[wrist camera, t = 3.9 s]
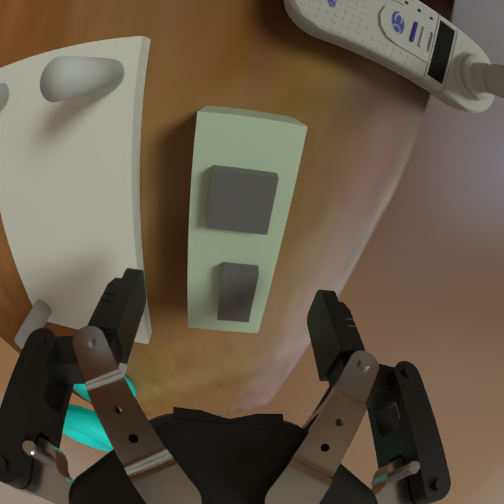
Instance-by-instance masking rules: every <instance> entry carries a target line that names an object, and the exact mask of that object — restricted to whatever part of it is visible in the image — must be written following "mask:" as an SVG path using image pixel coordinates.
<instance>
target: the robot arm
mask: <svg viewBox="0 0 504 504" xmlns="http://www.w3.org/2000/svg"><path fill="white" fill-rule="evenodd" d="M145 305H146V289H145V279H144V271H143V270H139V269H132V268H127V269H126V270H125V272H124V274H123V276H122V278H116V277H115V278H114V279H113V280H112V281H111V282H109V283H108V284H107V286H106V288H105V290H104V292H103V294H102V296H101V298H100V301H99V302H98V304H97V306H96V308H95V310H94V312H93V314H92V316H91V318H90V321H89V323H88V325H87V326H85V327H82V328H80V329H79V330H77V331H76V332H75V334H74V335H73V336H63V337H55V336H54V334H53V332H52V331H51V330H49V329H47V328H39V329H36V330H34V331H33V332H32V333H31V334H30V335H29V336H28V338H27V340H26V343H25V345H24V347H23V349H22V351H21V354H20V356H19V358H18V361H17V363H16V366H15V368H14V371H13V373H12V376H11V378H10V381H9V384H8V387H7V389H6V392H5V395H4V398H3V401H2V404H1V408H0V481H1V482H3V483H5V484H8V485H10V486H12V487H13V488H15V489H18V490H21V491H23V492H26V493H29V494H33V495H37V496H39V497H42V498H44V499H46V500H48V501H51V502H53V503H56V504H430V503H433V502H436V501H439V500H441V499H442V498H444V497H445V496H446V495H447V494H448V492H449V490H450V485H451V481H450V475H449V471H448V467H447V462H446V458H445V454H444V450H443V446H442V442H441V439H440V435H439V431H438V428H437V424H436V421H435V418H434V415H433V411H432V408H431V405H430V402H429V399H428V396H427V393H426V391H425V388H424V385H423V382H422V379H421V377H420V374H419V371H418V370H417V368H416V367H415V366H414V365H413V364H411V363H410V362H406V361H401V362H399V363H398V364H397V365H396V366H395V367H389V366H386V365H382V364H379V363H378V361H377V359H376V358H375V357H374V356H373V355H372V354H371V353H369V352H366V351H365V349H364V346H363V343H362V340H361V338H360V335H359V333H358V330H357V327H355V326H356V325H355V322H354V321H353V317H352V315H351V312H350V310H349V309H348V308H347V306H346V305H345V304H344V303H343V302H339V301H338V298H337V296H336V293H335V292H334V291H328V290H318V291H317V293H316V295H315V298H314V300H313V303H312V305H311V307H310V310H309V312H308V316H307V325H308V330H309V334H310V338H311V343H312V347H313V351H314V356H315V360H316V365H317V369H318V374H319V379H320V381H329V385H330V386H329V387H328V388H327V390H326V392H325V393H324V395H323V397H322V398H321V400H320V401H319V403H318V405H317V406H316V408H315V410H314V411H313V413H312V414H311V416H310V417H309V419H308V420H307V421H306V423H305V424H304V425H303V427H302V428H301V427H299V426H298V425H295V424H293V423H290V422H287V421H284V420H283V414H254V415H249V416H244V417H238V418H232V419H227V418H224V417H220V416H217V415H214V414H211V413H207V412H204V411H201V410H193V409H185V408H177V407H174V410H173V413H172V414H165V415H161V416H158V417H155V418H153V419H151V420H149V421H148V419H147V418H146V416H145V414H144V412H143V411H142V409H141V407H140V405H139V404H138V402H137V400H136V398H135V397H134V395H133V393H132V391H131V389H130V387H129V385H128V383H127V381H126V379H125V377H124V376H123V374H122V372H121V371H120V369H119V364H120V363H123V364H128V360H129V357H130V353H131V350H132V346H133V343H134V340H135V337H136V333H137V330H138V327H139V324H140V321H141V318H142V315H143V312H144V309H145ZM74 384H86V385H85V386H86V390H87V393H88V395H89V398H90V400H91V402H92V405H93V407H94V409H95V412H96V414H97V416H98V418H99V421H100V423H101V425H102V427H103V429H104V431H105V433H106V435H107V437H108V439H109V441H110V443H111V445H112V447H113V450H111V451H110V452H109V453H108V454H106V455H105V456H104V457H103V458H101V459H100V460H99V461H98V462H96V463H95V464H94V465H92V466H91V467H90V468H88V469H87V470H86V471H84V472H83V473H82V474H80V475H79V476H78V477H77V478H76V479H75V480H74V481H73V480H72V479H71V477H70V475H69V472H68V462H67V459H66V457H65V455H64V453H63V452H62V451H61V450H59V447H60V442H61V437H62V432H63V427H64V422H65V418H66V413H67V409H68V405H69V401H70V397H71V393H72V390H73V386H74ZM396 404H397V407H396ZM397 408H398V410H397ZM366 410H368V414H369V419H370V423H371V429H372V434H373V439H374V445H375V450H376V456H377V462H378V468H379V469H378V470H377V471H376V472H375V474H374V477H373V481H372V483H371V485H372V489H370V488H368V487H367V486H366V485H365V484H364V483H363V482H361V481H360V480H359V479H358V478H357V477H355V476H354V475H353V474H352V473H351V472H350V471H349V470H347V469H346V468H345V467H344V466H343V465H342V464H341V461H342V459H343V458H344V456H345V454H346V452H347V450H348V448H349V446H350V444H351V442H352V440H353V438H354V436H355V434H356V432H357V430H358V428H359V425H360V424H361V421H362V419H363V417H364V415H365V413H366ZM398 411H399V414H398ZM399 416H400V418H399Z"/></svg>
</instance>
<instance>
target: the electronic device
mask: <svg viewBox="0 0 504 504" xmlns="http://www.w3.org/2000/svg"><path fill="white" fill-rule="evenodd" d="M284 5H285V9H286V12H287V14H288V16H289V17H290V19H291V20H292V21H293V22H294V23H295V24H296V25H297V27H299V28H300V29H301V30H303V31H304V32H306V33H307V34H309V35H311V36H312V37H315V38H318V39H321V40H324V41H326V42H329V43H332V44H334V45H337V46H339V47H342V48H344V49H347V50H349V51H352V52H354V53H356V54H359V55H361V56H363V57H365V58H367V59H370V60H372V61H374V62H376V63H378V64H380V65H382V66H384V67H386V68H388V69H390V70H392V71H394V72H395V73H397V74H399V75H401V76H403V77H404V78H406V79H408V80H410V81H411V82H413V83H415V84H416V85H418V86H420V87H421V88H423V89H425V90H426V91H428V92H429V93H431V94H432V95H434V96H435V97H437V98H438V99H440V100H442V101H443V102H444V103H446V104H447V105H449V106H452V107H454V108H456V109H459V110H463V111H466V112H469V113H481V112H483V111H485V110H486V109H488V108H489V106H490V105H491V103H492V102H493V99H494V95H497V96H499V97H503V98H504V65H498V64H491V63H490V61H489V59H488V57H487V56H486V54H485V53H484V52H483V51H482V50H481V49H480V47H479V46H478V45H477V44H475V43H474V42H473V41H472V40H471V39H470V38H468V36H466V35H465V34H464V33H463V32H462V31H460V30H459V29H458V28H456V27H455V26H454V25H453V24H451V23H450V22H449V21H447V20H446V19H445V18H443V17H442V16H441V15H439V14H438V13H436V12H435V11H434V10H432V9H431V8H429V7H428V6H426V5H425V4H423V3H422V2H420V1H418V0H284Z"/></svg>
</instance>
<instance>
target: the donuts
mask: <svg viewBox="0 0 504 504" xmlns="http://www.w3.org/2000/svg"><path fill="white" fill-rule="evenodd" d="M124 377H125V379H126V381H127V383H128V385H129V387H130V389H131V391H132V393H133V395H134V397H136V390H135V387H134V385H133V384H132V382H131V381H130V380H129V379H128V378H127V377H126V376H124ZM85 385H86V384H74V386H73V389H74V390H75V391H76V392H77V393H78V394H79V395H81V396H82V397H83V398H85V399H87V400H88V401H90V402H91V400H90V398H89V395H88V393H87V390H86V386H85ZM62 433H64V434H66V435H67V436H69V437H70V438H72V439H74V440H76V441H78V442H81V443H83V444H85V445H88V446H91V447H93V448H97V449H100V450H105V451H111V450H113V447H112V445H111V443H110V441H109V439H108V437H107V435H106V433H105V431H104V429H103V427H102V425H101V423H100V421H99V418H98V416H97V414H96V412H94V411H92V410H89V409H87V408H84V407H81V406H76V405H71V404H69V405H68V409H67V413H66V418H65V422H64V427H63V432H62Z"/></svg>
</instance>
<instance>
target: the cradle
mask: <svg viewBox="0 0 504 504" xmlns="http://www.w3.org/2000/svg"><path fill="white" fill-rule="evenodd" d="M150 41H151V39H148V38H146V37H144V36H135V37H125V38H116V39H108V40H101V41H95V42H89V43H84V44H79V45H74V46H69V47H65V48H61V49H57V50H53V51H49V52H46V53H42V54H39V55H36V56H32V57H29V58H26V59H23V60H20V61H18V62H15V63H12V64H9V65H7V66H4V67H2V68H0V213H1V217H2V221H3V225H4V229H5V232H6V236H7V239H8V242H9V246H10V249H11V252H12V255H13V258H14V261H15V264H16V266H17V269H18V272H19V275H20V277H21V280H22V282H23V285H24V287H25V290H26V292H27V294H28V297H29V299H30V301H31V304H32V306H33V307H32V309H31V310H30V312H29V314H28V315H27V317H26V319H25V320H24V322H23V324H22V326H21V327H20V329H19V331H18V333H17V335H16V336H15V338H14V341H15V343H16V344H17V345H18V346H19V347H20V348H21V349H23V347H24V345H25V343H26V340H27V338H28V336H29V335H30V334H31V333H32V332H33V331H34V330H36V329H39V328H44V326H45V324H46V322H51V323H54V324H58V325H62V326H66V327H69V328H73V329H77V330H79V329H80V328H82V327H85V326H87V325H88V323H89V321H90V318H91V316H92V314H93V312H94V310H95V308H96V306H97V304H98V302H99V301H100V298H101V296H102V294H103V292H104V290H105V288H106V286H107V284H108V283H109V282H111V281H112V280H113V279H114V278H115V277H116V278H122V276H123V274H124V272H125V270H126V269H127V268H132V269H139V270H143V271H144V264H143V251H142V237H141V217H140V139H141V120H142V106H143V95H144V85H145V76H146V68H147V61H148V54H149V47H150ZM144 279H145V274H144ZM145 289H146V284H145ZM151 334H152V329H151V322H150V316H149V308H148V301H147V293H146V305H145V309H144V312H143V315H142V318H141V321H140V324H139V327H138V330H137V333H136V337H135V340H134V342H140V343H146V344H149V341H150V337H151ZM133 344H134V343H133ZM132 347H133V346H132ZM131 351H132V350H131ZM130 354H131V353H130ZM129 358H130V357H129ZM128 361H129V360H128ZM127 365H128V364H123V363H120V364H119V369H120V371H121V372H122V374H123V376H125V372H126V369H127Z"/></svg>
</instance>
